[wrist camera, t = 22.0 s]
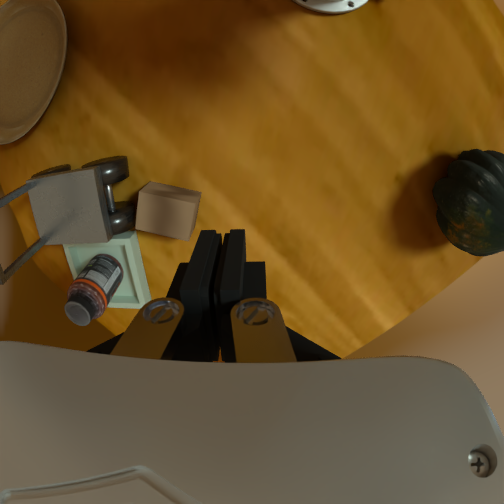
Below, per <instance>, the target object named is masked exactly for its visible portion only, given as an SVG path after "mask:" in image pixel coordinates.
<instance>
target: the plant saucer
mask: <svg viewBox="0 0 504 504" xmlns="http://www.w3.org/2000/svg"><path fill="white" fill-rule="evenodd" d="M67 44H68V33H67V25H66V20H65V16H64V14H63V11H62V9H61V7H60V6H59V4H58V3H57V1H56V0H9V1H7V2H6V3H5V4H3V5H2V6H1V7H0V144H7V143H11V142H13V141H16V140H17V139H19V138H21V137H22V136H23V135H25V134H26V133H27V132H28V131H29V130H30V129H31V128H32V127H33V126H34V125H35V124H36V123H37V122H38V120H39V119H40V118H41V116H42V115H43V113H44V112H45V110H46V109H47V107H48V106H49V104H50V102H51V100H52V98H53V96H54V94H55V92H56V90H57V87H58V85H59V82H60V79H61V76H62V73H63V69H64V65H65V60H66V54H67Z"/></svg>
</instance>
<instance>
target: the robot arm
mask: <svg viewBox="0 0 504 504" xmlns="http://www.w3.org/2000/svg"><path fill="white" fill-rule="evenodd" d="M293 1H294V2H296V3H297V4H299V5H301V6H303V7H305V8H307V9H310V10H313V11H316V12H321V13H326V14H341V13H347V12H351V11H354V10H356V9H358V8H360V7H361V6H363V5H364V4H365V3H366V2H367V1H368V0H306V2H303V1H302V0H293ZM348 4H349V5H350V6H351V7H349V6H348ZM220 349H221V356H222V361H225V363H218V362H213V361H218V358H219V350H220ZM0 504H504V436H503V434H502V432H501V430H500V427H499V425H498V423H497V421H496V419H495V417H494V415H493V413H492V410H491V408H490V407H489V405H488V403H487V401H486V400H485V398H484V396H483V395H482V393H481V391H480V390H479V389H478V387H477V386H476V384H475V383H474V382H473V380H472V379H471V378H470V377H469V376H468V375H467V374H466V372H464V371H463V370H462V369H461V368H459V367H457V366H456V365H454V364H451V363H448V362H446V361H442V360H438V359H432V358H427V357H420V356H419V357H418V356H379V357H367V358H351V359H341V358H340V357H338V356H336V355H335V354H333V353H331V352H329V351H328V350H326V349H324V348H322V347H321V346H319V345H317V344H315V343H314V342H312V341H310V340H309V339H307V338H305V337H303V336H302V335H300V334H298V333H297V332H295V331H293V330H292V329H290V328H288V327H286V326H285V323H284V320H283V317H282V314H281V311H280V309H279V307H278V306H277V305H276V304H275V303H274V302H272V301H270V300H268V299H267V296H266V273H265V262H246V243H245V229H234V230H230V233H225V236H224V241H223V245H222V236H221V233H220V234H216V230H201V232H200V235H199V237H198V240H197V243H196V245H195V248H194V251H193V253H192V256H191V259H190V261H189V263H180V264H179V266H178V269H177V271H176V274H175V276H174V278H173V281H172V283H171V286H170V288H169V291H168V293H167V296H166V298H157V299H154V300H151V301H149V302H148V303H146V304H144V305H143V307H142V308H141V309H140V310H139V312H138V313H137V315H136V316H135V317H134V319H133V320H132V322H131V323H130V325H129V326H128V328H127V329H126V331H125V332H123V333H121V334H119V335H118V336H116V337H114V338H112V339H110V340H108V341H106V342H104V343H102V344H100V345H98V346H96V347H94V348H92V349H90V350H88V351H86V352H83V351H76V350H69V349H63V348H57V347H51V346H46V345H38V344H32V343H26V342H16V341H0Z"/></svg>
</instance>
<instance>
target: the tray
mask: <svg viewBox="0 0 504 504" xmlns="http://www.w3.org/2000/svg"><path fill="white" fill-rule="evenodd" d="M63 248H64V251H65V254H66V257H67V261H68V264H69V267H70V270H71V273H72V276H73V279H74V280H75V279H76V278H77V276H78V275H79V274H80V273H81V271H82V270H83V269H84V268H85V266H86V265H87V264H88V263H89V262H90V260H91V259H92V258H93V257H94V256H96V255H98V254H109V255H111V256H113V257H114V258H116V259H117V260H118V261H119V263H120V264H121V266H122V268H123V271H124V275H123V280H122V282H121V284H120V285H119V287H118V289H117V290H116V292H115V294H114V295H113V297H112V299H111V301H110V302H109V304H108V306H107V307H115V308H135V309H141V308H142V307H143V305H144V304H146V303H148V302H149V301H151V296H150V292H149V288H148V284H147V280H146V275H145V271H144V267H143V262H142V258H141V253H140V248H139V244H138V239H137V234H136V231H126V232H124V233H121V234H117V235H113V238H112V239H111V240H110V241H109V242H108V243H82V244H63Z"/></svg>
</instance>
